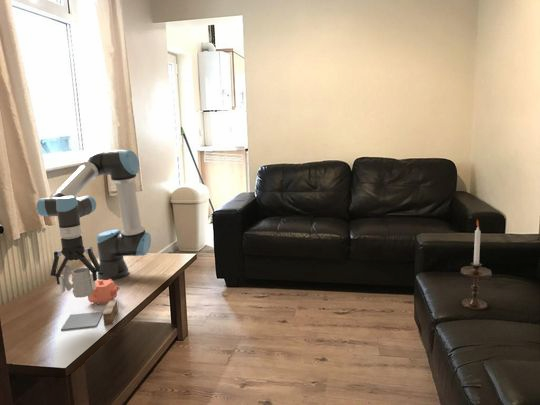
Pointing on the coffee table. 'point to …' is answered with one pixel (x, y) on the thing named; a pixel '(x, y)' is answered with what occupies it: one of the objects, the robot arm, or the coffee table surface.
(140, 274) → the coffee table surface
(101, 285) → the teapot
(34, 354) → the coffee table surface
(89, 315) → the plate
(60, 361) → the coffee table surface
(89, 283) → the mug
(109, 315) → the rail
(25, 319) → the coffee table surface
